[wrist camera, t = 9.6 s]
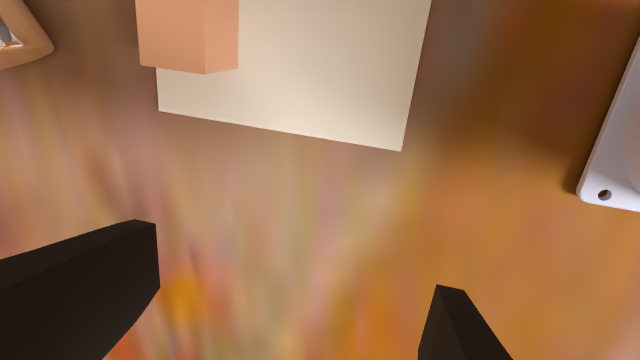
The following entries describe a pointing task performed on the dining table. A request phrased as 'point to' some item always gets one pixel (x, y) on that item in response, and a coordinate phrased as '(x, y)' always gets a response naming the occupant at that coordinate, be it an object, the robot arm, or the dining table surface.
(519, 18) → the dining table surface
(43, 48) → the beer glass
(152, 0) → the lid
